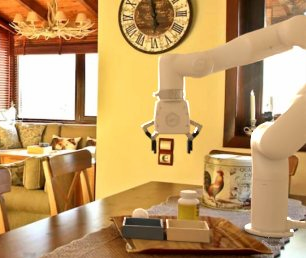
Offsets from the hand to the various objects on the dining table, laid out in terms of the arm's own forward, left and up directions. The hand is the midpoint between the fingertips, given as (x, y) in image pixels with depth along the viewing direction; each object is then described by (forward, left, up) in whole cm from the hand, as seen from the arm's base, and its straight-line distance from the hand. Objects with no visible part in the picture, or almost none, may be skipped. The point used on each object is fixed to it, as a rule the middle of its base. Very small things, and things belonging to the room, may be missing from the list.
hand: (171, 153), depth 153 cm
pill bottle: (-5, 0, -23) cm, 23 cm away
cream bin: (-4, +10, -22) cm, 25 cm away
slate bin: (+8, +10, -22) cm, 26 cm away
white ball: (+9, -1, -23) cm, 24 cm away
